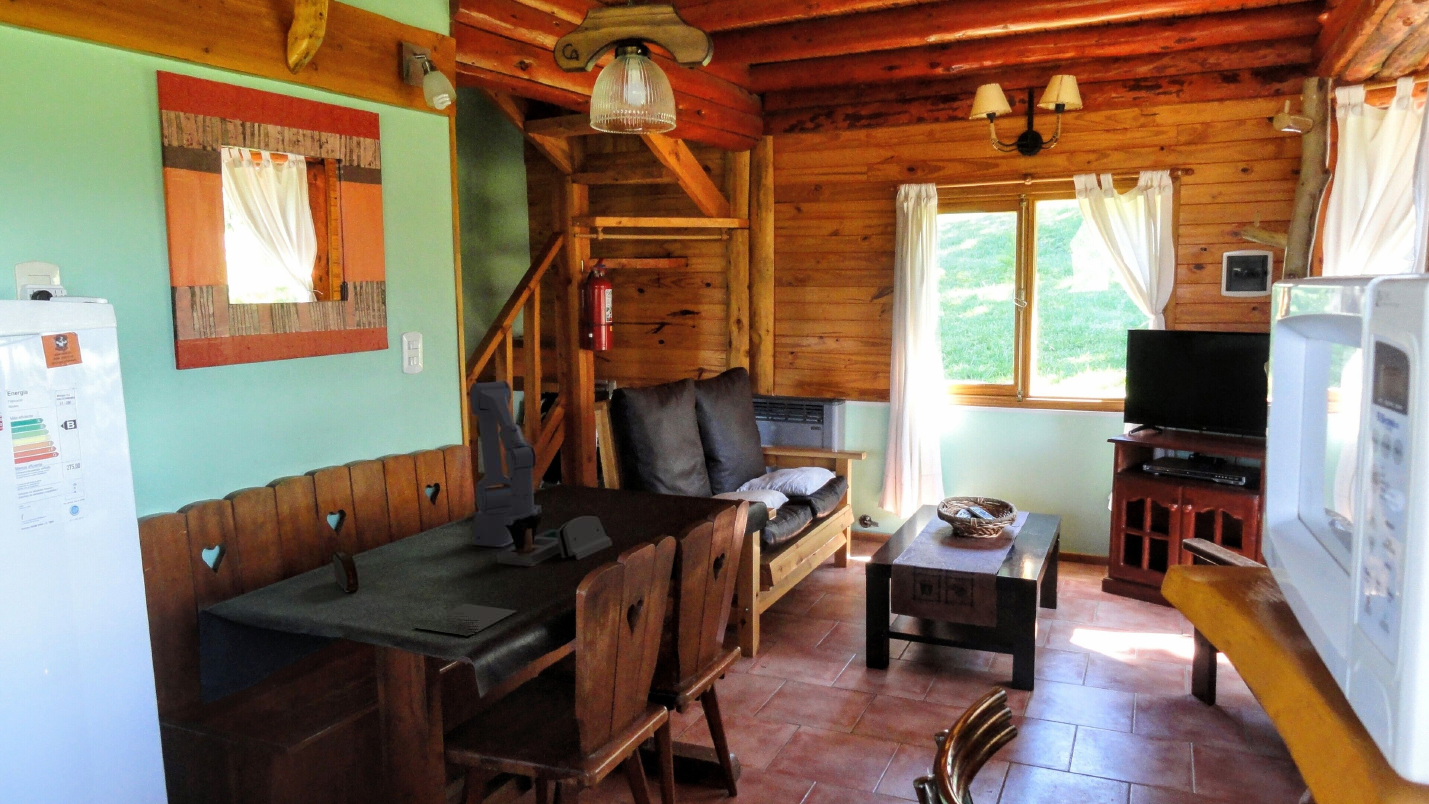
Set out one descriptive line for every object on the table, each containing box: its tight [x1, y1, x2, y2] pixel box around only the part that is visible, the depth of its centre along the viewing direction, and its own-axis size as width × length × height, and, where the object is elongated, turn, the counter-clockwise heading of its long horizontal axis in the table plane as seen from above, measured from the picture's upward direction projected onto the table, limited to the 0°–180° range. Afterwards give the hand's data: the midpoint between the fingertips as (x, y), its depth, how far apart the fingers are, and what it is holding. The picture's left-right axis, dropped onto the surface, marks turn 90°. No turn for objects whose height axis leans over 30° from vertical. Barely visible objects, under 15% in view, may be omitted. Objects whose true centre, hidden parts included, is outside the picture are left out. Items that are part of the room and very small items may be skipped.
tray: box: [496, 528, 561, 567], centre depth 258 cm, size 10×26×2 cm, turn 159°
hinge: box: [556, 515, 613, 561], centre depth 258 cm, size 17×5×10 cm, turn 153°
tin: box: [331, 548, 359, 592], centre depth 230 cm, size 15×3×8 cm, turn 32°
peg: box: [517, 527, 533, 554], centre depth 250 cm, size 4×4×8 cm
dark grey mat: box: [445, 603, 517, 635], centre depth 210 cm, size 23×25×1 cm
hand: (524, 546), depth 250 cm, fingers closed on peg, 4 cm apart
